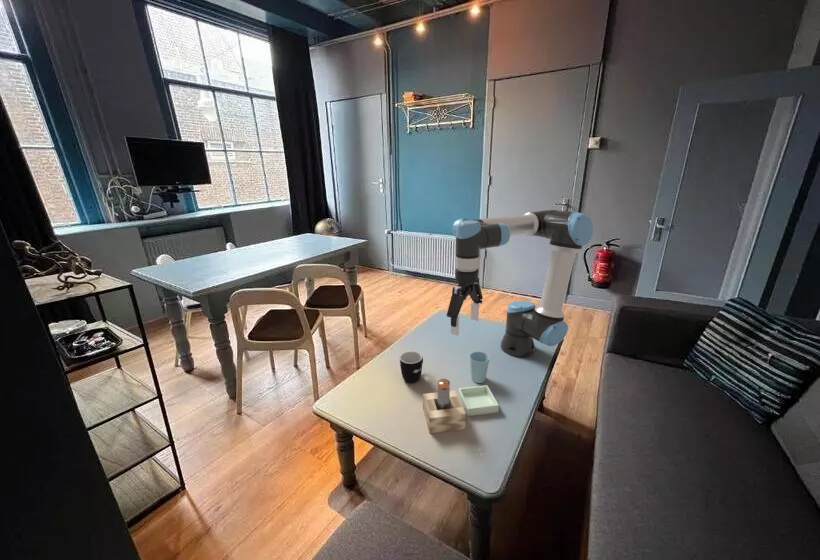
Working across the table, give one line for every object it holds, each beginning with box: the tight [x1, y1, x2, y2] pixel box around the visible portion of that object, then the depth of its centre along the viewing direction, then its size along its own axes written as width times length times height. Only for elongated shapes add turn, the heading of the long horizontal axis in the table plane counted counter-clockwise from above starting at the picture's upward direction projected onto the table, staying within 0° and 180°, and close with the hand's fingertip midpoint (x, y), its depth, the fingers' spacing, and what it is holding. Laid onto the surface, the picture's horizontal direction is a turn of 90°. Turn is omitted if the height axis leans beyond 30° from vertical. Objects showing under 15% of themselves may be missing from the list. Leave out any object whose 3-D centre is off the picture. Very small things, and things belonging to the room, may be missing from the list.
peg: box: [437, 378, 451, 410], centre depth 109 cm, size 4×4×14 cm
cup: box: [469, 351, 490, 384], centre depth 130 cm, size 8×8×10 cm
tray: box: [457, 384, 500, 417], centre depth 118 cm, size 11×11×3 cm
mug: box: [399, 351, 424, 384], centre depth 132 cm, size 12×9×10 cm
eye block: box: [422, 389, 467, 434], centre depth 111 cm, size 12×12×6 cm
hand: (465, 326), depth 114 cm, fingers open, 13 cm apart
